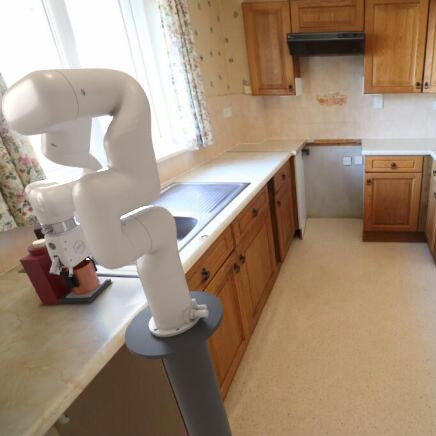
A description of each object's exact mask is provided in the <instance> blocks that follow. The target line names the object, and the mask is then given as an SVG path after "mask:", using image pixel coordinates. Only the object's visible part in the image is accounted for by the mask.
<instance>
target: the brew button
mask: <svg viewBox="0 0 436 436" xmlns="http://www.w3.org/2000/svg"><path fill="white" fill-rule="evenodd" d="M32 244H33V246H34V248H40V247H43V246H46V242H45V239H40V240H38V239H37V240H34V241H33V242H32ZM32 244H31V245H32Z"/></svg>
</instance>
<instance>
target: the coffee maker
mask: <svg viewBox="0 0 436 436" xmlns="http://www.w3.org/2000/svg"><path fill="white" fill-rule="evenodd" d="M99 281H100V285H99V286H98V287H97V288H96V289H94V290H93V291H91V292H88V293H85V294H74V293H73V291H72V289H70V290H69V291H68V292H67V293H66V294H64V295H63V296H62V297H61V298H60V299H59V300H58V302H59V304H58V305H83V304H84V305H85V304H89V305H90V304H92V303H93V302H94V301H95V300H96V299H97V298H98V297H99V296H100V295H101V294H102V293H103V292H104V291H105V290H106V289H108V288H109V286H110V285H111V284H112V283H113V282H112V279H111V278H99Z"/></svg>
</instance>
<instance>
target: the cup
mask: <svg viewBox="0 0 436 436" xmlns="http://www.w3.org/2000/svg"><path fill="white" fill-rule="evenodd" d="M65 272H68V268H65ZM73 275H76V277H77V279H78V282H79V284H80V286H79V287H73V288H71V289H72V291H73V293H74V294H85V293H88V292H91V291H93V290H94V289H96V288H97V287H98V286H99V285H100V281H99V279H100V278H99V275H98V273H97V272H96V271H95V269H94V266H93V264H92V261H91V259H84V260H83V261H81V262H80V263H79V264H77V265H76V266H74V267H73Z"/></svg>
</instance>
